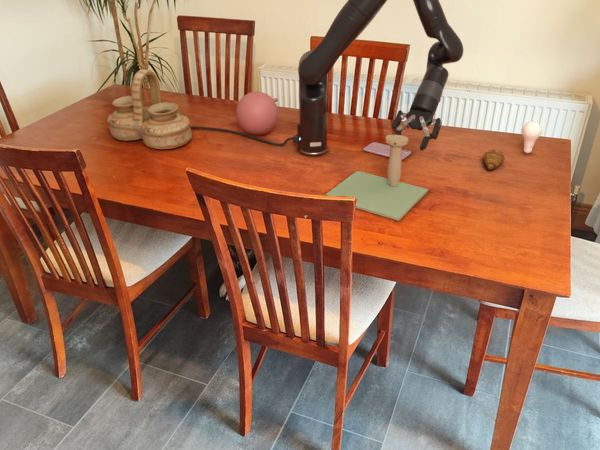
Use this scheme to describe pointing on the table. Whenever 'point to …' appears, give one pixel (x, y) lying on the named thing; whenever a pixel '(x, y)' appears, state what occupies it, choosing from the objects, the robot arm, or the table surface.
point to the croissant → (493, 159)
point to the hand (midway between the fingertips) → (408, 146)
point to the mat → (379, 194)
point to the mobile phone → (383, 150)
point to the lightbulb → (530, 135)
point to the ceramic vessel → (149, 117)
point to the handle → (395, 157)
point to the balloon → (257, 113)
